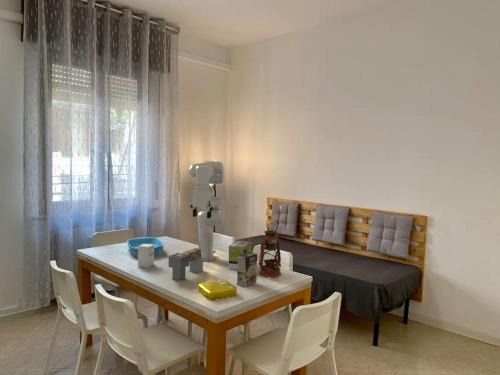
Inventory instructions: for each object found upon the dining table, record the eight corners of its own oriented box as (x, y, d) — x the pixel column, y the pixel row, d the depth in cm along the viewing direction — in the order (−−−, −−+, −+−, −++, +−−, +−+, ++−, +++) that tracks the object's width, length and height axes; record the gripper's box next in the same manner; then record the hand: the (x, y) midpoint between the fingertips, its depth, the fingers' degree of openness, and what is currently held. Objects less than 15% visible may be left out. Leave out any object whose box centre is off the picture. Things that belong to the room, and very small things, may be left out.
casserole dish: (125, 247, 269) (125, 237, 268) (156, 244, 278) (156, 235, 278) (132, 260, 235) (132, 249, 235) (167, 257, 245) (167, 246, 244)
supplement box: (148, 267, 220) (149, 247, 219) (137, 266, 222) (137, 246, 221) (154, 264, 227) (154, 244, 226) (143, 263, 229) (143, 243, 228)
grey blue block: (194, 268, 220) (194, 255, 220) (202, 270, 218) (203, 257, 217) (189, 271, 216) (189, 257, 215) (198, 272, 213) (198, 259, 212)
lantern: (267, 280, 204) (268, 226, 201) (251, 274, 214) (253, 222, 211) (288, 274, 215) (290, 223, 212) (272, 269, 224) (274, 220, 222)
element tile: (197, 291, 184) (197, 282, 184) (223, 287, 192) (224, 278, 192) (209, 302, 172) (210, 292, 171) (237, 296, 179) (238, 287, 179)
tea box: (236, 262, 236) (237, 239, 235) (251, 264, 233) (252, 241, 232) (228, 269, 222) (228, 245, 221) (243, 271, 219) (244, 246, 218)
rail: (195, 256, 219) (195, 247, 218) (201, 257, 217) (201, 248, 217) (174, 264, 201) (174, 255, 200) (180, 265, 199) (180, 256, 199)
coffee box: (245, 287, 191) (246, 257, 189) (236, 284, 195) (237, 255, 193) (256, 283, 198) (257, 254, 196) (247, 280, 202) (248, 251, 200)
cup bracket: (177, 275, 207) (177, 252, 206) (189, 277, 204) (189, 254, 203) (168, 279, 200) (168, 256, 199) (180, 282, 197) (180, 258, 196)
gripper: (186, 187, 211) (185, 216, 212) (211, 189, 203) (211, 219, 204) (193, 186, 217) (193, 215, 219) (218, 188, 210) (218, 217, 211)
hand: (201, 217), depth 211 cm, fingers open, 9 cm apart
